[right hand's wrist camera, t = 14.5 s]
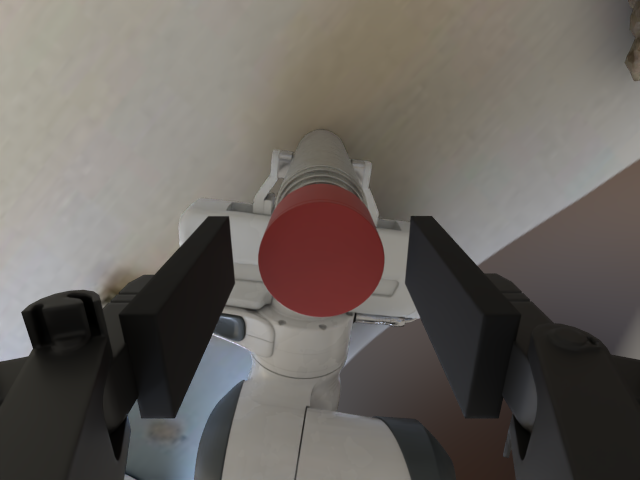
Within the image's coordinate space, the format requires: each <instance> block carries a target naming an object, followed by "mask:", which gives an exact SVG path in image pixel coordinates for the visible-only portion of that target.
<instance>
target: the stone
mask: <svg viewBox="0 0 640 480" xmlns="http://www.w3.org/2000/svg"><path fill="white" fill-rule="evenodd" d="M628 3H629V5H630V7H631V8H632V9H633V11H632V14H631V17H630V31H631V32H632V34H633V35H634V37H635V40H634V43H633V45H632V47H631V50H630V52H629V54H628V55H627V58H626V61H625V64H626V66H627V68H628V69H629V71H630V72H631V75H632V78H633V80H634V81H639V80H640V0H628Z"/></svg>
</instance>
